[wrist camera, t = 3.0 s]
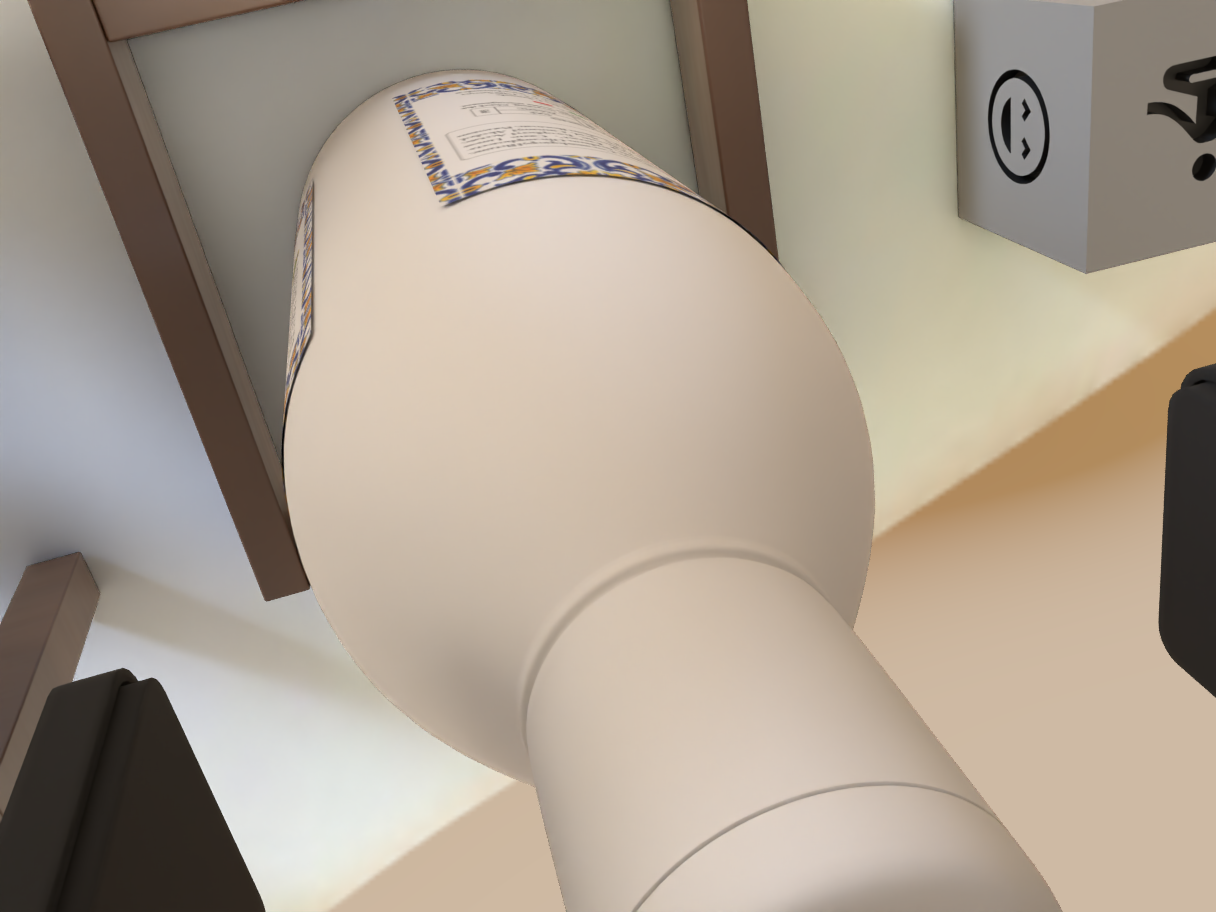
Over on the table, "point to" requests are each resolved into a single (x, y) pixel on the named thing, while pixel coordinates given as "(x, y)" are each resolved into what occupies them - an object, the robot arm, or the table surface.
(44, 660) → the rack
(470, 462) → the bath foam
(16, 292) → the table surface
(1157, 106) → the dice cube
